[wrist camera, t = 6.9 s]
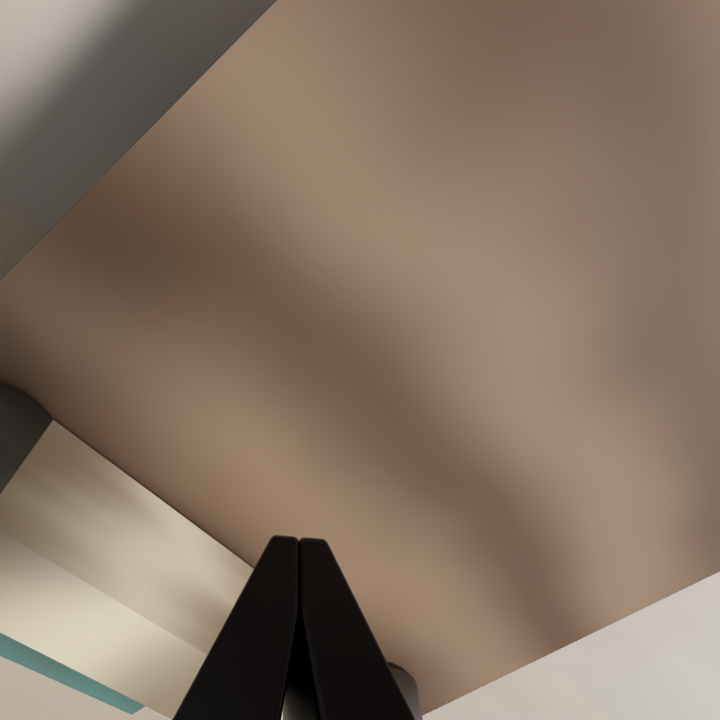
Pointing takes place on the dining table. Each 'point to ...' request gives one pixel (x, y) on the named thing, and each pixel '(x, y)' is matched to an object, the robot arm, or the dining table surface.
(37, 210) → the dining table surface
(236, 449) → the stool seat
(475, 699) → the dining table surface
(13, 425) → the hinged leg
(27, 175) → the dining table surface
